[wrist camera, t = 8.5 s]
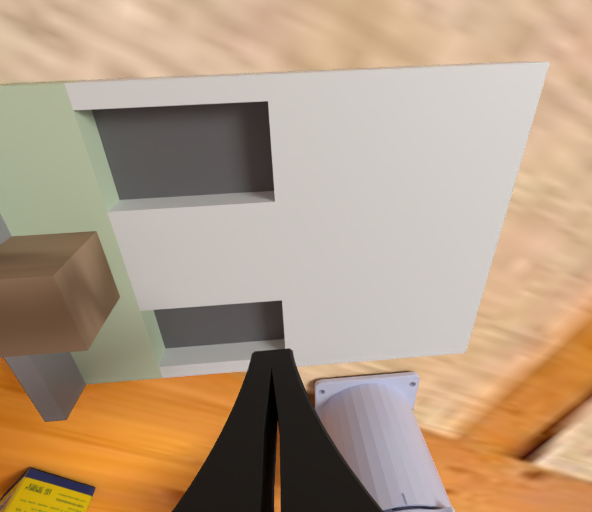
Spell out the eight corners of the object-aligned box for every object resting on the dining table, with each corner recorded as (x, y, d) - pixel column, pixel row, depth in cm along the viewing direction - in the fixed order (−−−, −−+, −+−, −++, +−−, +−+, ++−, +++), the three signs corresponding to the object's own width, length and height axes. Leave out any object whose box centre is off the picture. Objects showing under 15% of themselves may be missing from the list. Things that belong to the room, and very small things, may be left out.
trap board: (451, 332, 25) (486, 383, 21) (81, 362, 24) (45, 421, 20) (520, 61, 16) (598, 63, 12) (-54, 86, 15) (-164, 96, 11)
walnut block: (120, 296, 19) (87, 350, 15) (45, 302, 19) (-5, 357, 15) (96, 231, 17) (52, 275, 13) (11, 236, 17) (-54, 283, 13)
